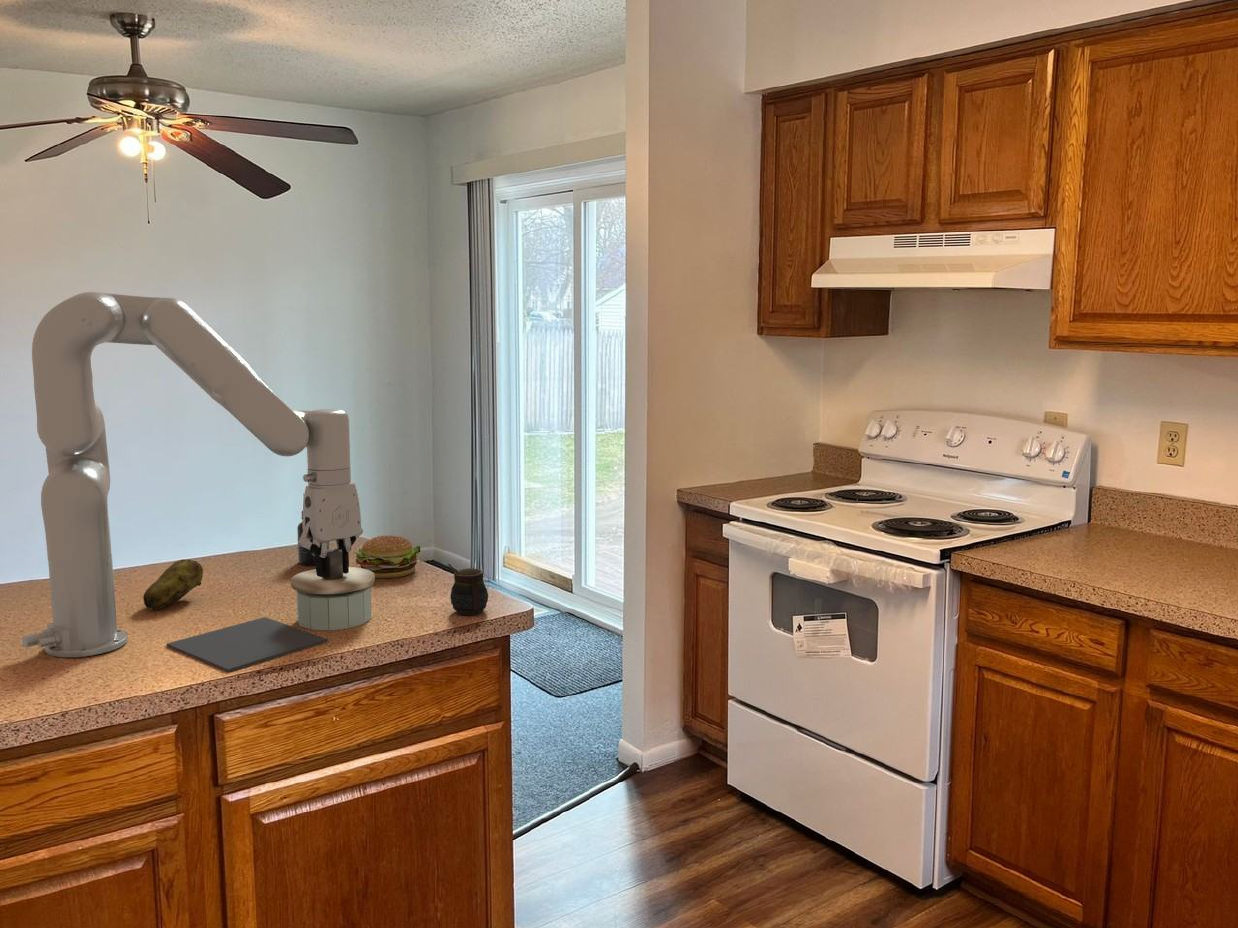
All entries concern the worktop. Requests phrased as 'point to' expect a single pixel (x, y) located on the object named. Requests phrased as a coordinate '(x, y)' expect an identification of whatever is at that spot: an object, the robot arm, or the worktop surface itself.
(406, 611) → the worktop surface
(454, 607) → the mate gourd
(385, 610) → the worktop surface
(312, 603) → the bowl
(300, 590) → the lid
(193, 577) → the potato
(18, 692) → the worktop surface
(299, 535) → the supplement bottle
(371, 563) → the food
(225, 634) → the mat
